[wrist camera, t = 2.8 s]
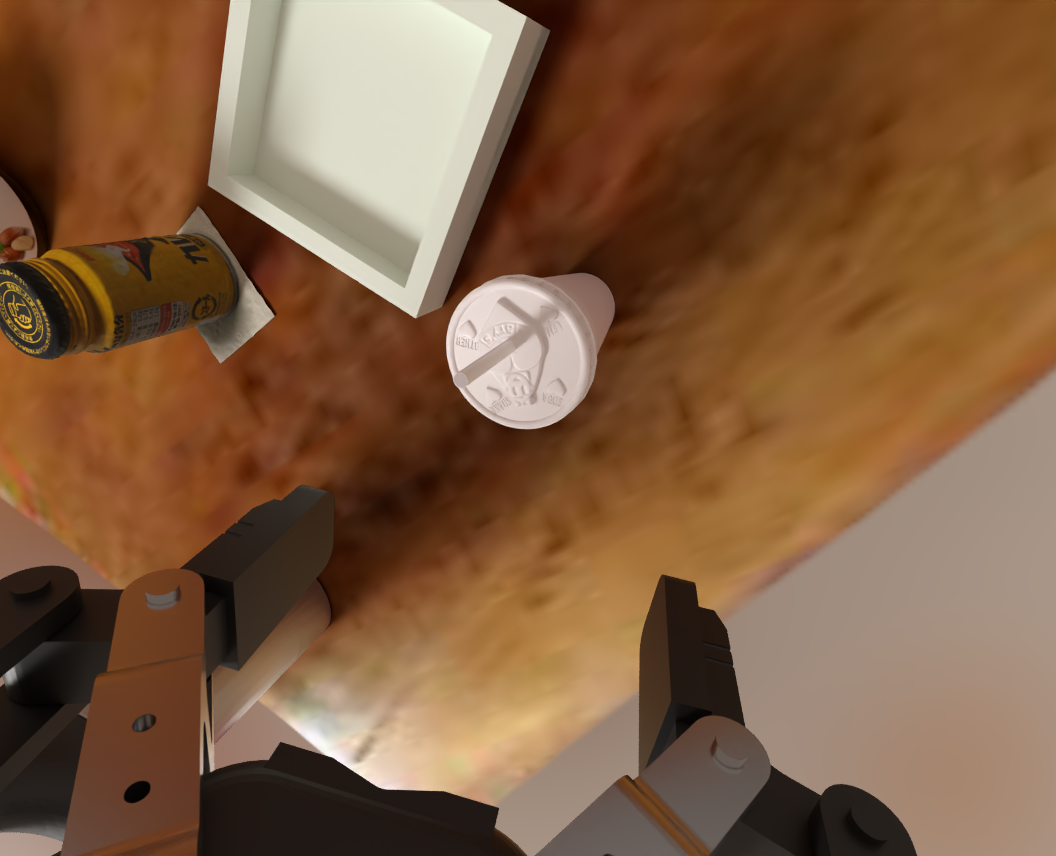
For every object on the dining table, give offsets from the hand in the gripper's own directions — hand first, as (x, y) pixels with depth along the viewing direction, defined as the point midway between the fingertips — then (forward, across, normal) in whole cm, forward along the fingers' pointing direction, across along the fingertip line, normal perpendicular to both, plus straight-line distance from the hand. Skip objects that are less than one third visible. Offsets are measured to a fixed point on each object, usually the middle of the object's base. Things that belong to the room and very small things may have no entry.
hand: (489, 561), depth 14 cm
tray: (+22, -14, +10) cm, 28 cm away
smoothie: (+21, 0, +2) cm, 21 cm away
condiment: (+26, -26, -3) cm, 37 cm away
